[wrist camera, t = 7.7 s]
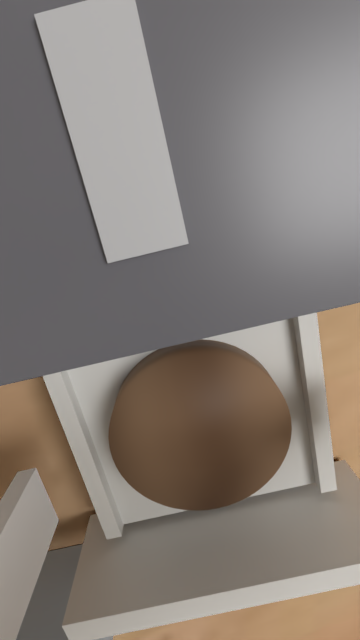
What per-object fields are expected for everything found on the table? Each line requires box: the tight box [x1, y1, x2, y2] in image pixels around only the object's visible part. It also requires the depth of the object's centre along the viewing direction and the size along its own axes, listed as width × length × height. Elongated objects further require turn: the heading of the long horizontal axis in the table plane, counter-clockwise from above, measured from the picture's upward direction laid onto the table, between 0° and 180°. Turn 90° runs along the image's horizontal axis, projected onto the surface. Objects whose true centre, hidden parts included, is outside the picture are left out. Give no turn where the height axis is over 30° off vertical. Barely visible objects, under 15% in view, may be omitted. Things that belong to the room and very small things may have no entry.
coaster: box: [108, 339, 292, 511], centre depth 15 cm, size 8×8×2 cm
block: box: [16, 544, 113, 640], centre depth 18 cm, size 5×5×6 cm
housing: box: [0, 0, 360, 386], centre depth 11 cm, size 16×15×6 cm
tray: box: [43, 312, 360, 640], centre depth 15 cm, size 16×15×6 cm
